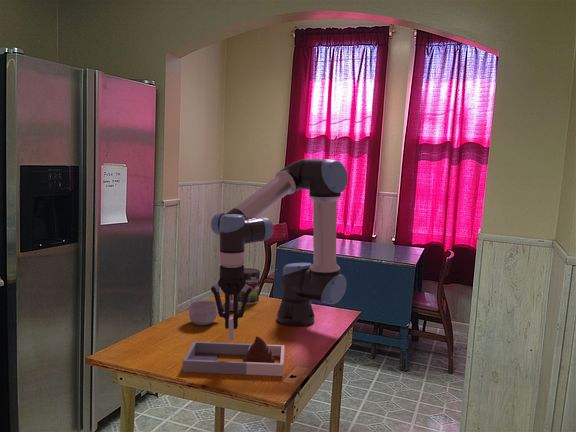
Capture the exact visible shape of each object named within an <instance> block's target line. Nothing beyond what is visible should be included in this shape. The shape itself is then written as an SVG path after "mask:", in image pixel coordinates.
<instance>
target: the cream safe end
mask: <svg viewBox="0 0 576 432" xmlns="http://www.w3.org/2000/svg"><path fill="white" fill-rule="evenodd" d="M250 344H251V345H252V344H253V343H250ZM265 344H266V343H265ZM266 345H267V346H268V348H269V349H270V350H271V352H272V356H273V357H280V360H279V362H274V363H259V362H247V364H246V376H247V375H251V376H267V377H268V376H273V377H283V376H284V368H285V367H284V365H285V345H284V344H283V345H282V344H266Z"/></svg>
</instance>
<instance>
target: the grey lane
mask: <svg viewBox="0 0 576 432" xmlns="http://www.w3.org/2000/svg"><path fill="white" fill-rule="evenodd" d="M251 344H252V343H239V342H237V343H235V342H217V341H216V342H215V341H214V342H213V341H193V342H192V344H191V345H190V347H189V349H188V352H187V353H186V355H185V357H184V358H183V360H182V373H196V374H197V373H200V374H201V373H202V374H203V373H204V374H220V375H221V374H223V375H225V374H227V375H246V364H247V362H243V361H234V360H233V361H230V360H228V361H227V360H217V359H218V357H219V355H235V356H236V355H238V356H239V355H240V356H246V355H247V352H248V348H249V346H250V345H251ZM246 376H247V375H246Z"/></svg>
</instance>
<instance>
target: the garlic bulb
mask: <svg viewBox="0 0 576 432" xmlns="http://www.w3.org/2000/svg"><path fill="white" fill-rule="evenodd" d="M241 306H242V304H240V303H239V302H238V312H240V310H241ZM223 310H224V311H225V302H223ZM230 312H233V295H232V294H231V295H230Z"/></svg>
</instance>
